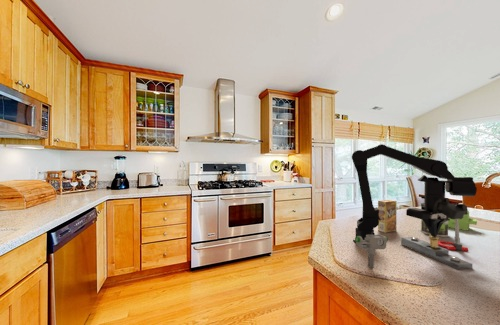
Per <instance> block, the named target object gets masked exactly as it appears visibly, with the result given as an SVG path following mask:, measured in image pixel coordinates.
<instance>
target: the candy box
mask: <svg viewBox="0 0 500 325" xmlns="http://www.w3.org/2000/svg"><path fill="white" fill-rule="evenodd" d="M397 203H398V202H397V201H396V200H392V199H385V200H377V208H378V210H379V217H380V219H381V220H379V225H378V226H377V231H378V232H382V233H385V234H386V233H391V232H397Z"/></svg>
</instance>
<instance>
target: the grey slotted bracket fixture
mask: <svg viewBox="0 0 500 325" xmlns="http://www.w3.org/2000/svg"><path fill="white" fill-rule="evenodd" d="M400 241H401V242H400V245H401V244H402V246H404V245H405V246H404V247H406V246H407V247H406V248H408V247H410V248H412V249H411V250H413V249H414V250H413V251H415V250H416V251H415V252H417V253H420V254H422V255H424V256H427V257H429V258H431V259H433V260H435V261H438V262H441V263H443V264H445V265H447V266H449V267H450V268H451V267H452V268H453V269H455V270H456V269H457V270H470V269H473V263H471V262H469V261H466V260H463V259H461V258H460V257H457V256H453V255H451V254H450V253H449V251H450V250H448V249H447V248H445V247H442V246H439V245H438V250H434V249H432V248H430V242H427V241H425V240H422V239H420V238H418V237H415V236H405V237H404V236H403V237H401V240H400ZM410 248H409V249H410Z"/></svg>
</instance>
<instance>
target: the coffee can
mask: <svg viewBox="0 0 500 325" xmlns="http://www.w3.org/2000/svg"><path fill="white" fill-rule="evenodd" d="M421 206H424V202H422V203H420V207H421ZM445 216H446V215H445ZM446 218H448V217H447V216H446ZM420 232H421V233H422V234H425V235H428V236H430V235H431V233H430V232H429V230H428V228H427V226H426V224H425V223H424V221H423V220H422V219H420ZM431 236H432V235H431ZM437 237H439V238H441V237H442V238H443V237H444V238H447V237H449V227H448V221H446V222H444V223H443V224H442V226H441V228H440V230H439V232H438V234H437Z"/></svg>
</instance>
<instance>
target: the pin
mask: <svg viewBox="0 0 500 325" xmlns="http://www.w3.org/2000/svg"><path fill="white" fill-rule="evenodd" d="M428 238H429V243H430V248H432V249H434V250H438V246H439V245H438V241H440V237H439V236H432V235H428Z"/></svg>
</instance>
